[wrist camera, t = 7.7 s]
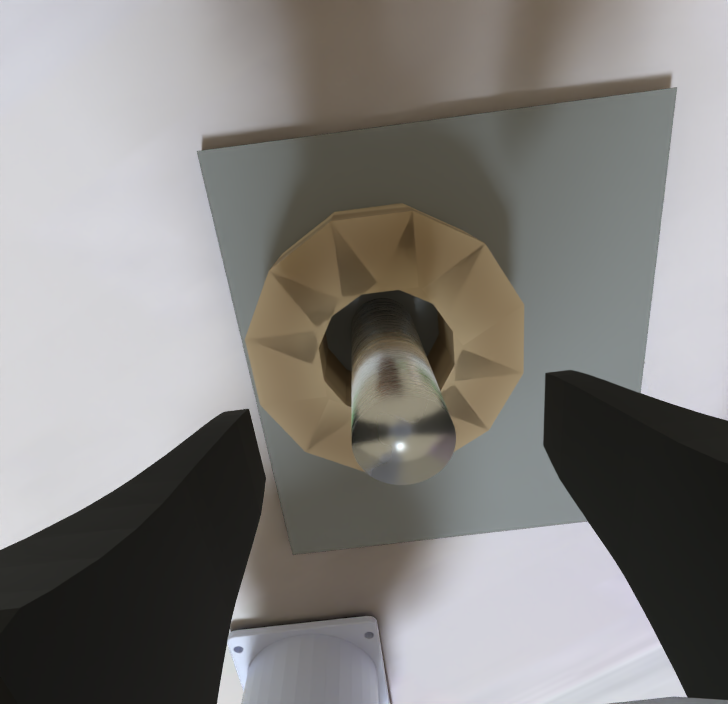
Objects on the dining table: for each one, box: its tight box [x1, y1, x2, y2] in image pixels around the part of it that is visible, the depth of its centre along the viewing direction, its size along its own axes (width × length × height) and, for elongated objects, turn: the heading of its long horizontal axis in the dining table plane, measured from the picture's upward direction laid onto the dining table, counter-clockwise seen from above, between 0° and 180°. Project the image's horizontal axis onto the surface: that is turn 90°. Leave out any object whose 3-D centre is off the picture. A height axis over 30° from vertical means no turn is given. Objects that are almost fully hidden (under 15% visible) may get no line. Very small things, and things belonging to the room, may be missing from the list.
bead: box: [245, 203, 524, 472], centre depth 16 cm, size 9×9×3 cm
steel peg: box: [352, 298, 456, 485], centre depth 14 cm, size 2×2×8 cm
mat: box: [197, 87, 677, 555], centre depth 19 cm, size 18×16×1 cm
